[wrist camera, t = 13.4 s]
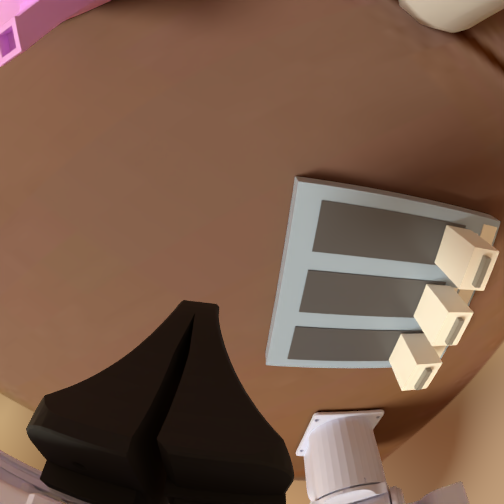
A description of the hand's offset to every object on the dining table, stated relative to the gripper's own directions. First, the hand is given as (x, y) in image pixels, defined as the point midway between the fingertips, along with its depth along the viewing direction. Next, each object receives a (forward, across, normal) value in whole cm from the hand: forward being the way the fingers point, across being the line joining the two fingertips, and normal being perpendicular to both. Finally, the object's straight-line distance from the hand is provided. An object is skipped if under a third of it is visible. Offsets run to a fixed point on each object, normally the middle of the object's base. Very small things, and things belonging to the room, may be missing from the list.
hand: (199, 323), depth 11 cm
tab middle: (+8, -16, +3) cm, 18 cm away
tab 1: (+8, -15, +7) cm, 19 cm away
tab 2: (+8, -16, -1) cm, 17 cm away
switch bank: (+9, -12, +3) cm, 16 cm away
